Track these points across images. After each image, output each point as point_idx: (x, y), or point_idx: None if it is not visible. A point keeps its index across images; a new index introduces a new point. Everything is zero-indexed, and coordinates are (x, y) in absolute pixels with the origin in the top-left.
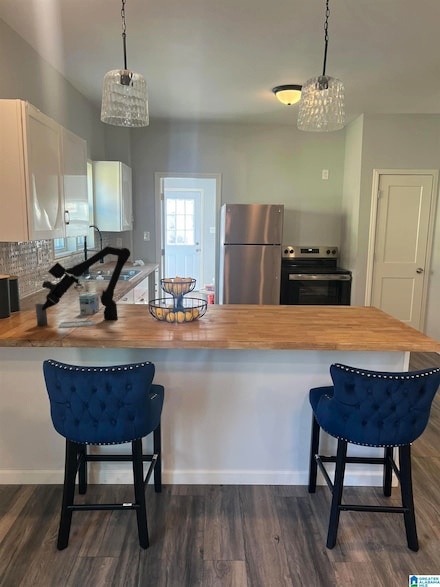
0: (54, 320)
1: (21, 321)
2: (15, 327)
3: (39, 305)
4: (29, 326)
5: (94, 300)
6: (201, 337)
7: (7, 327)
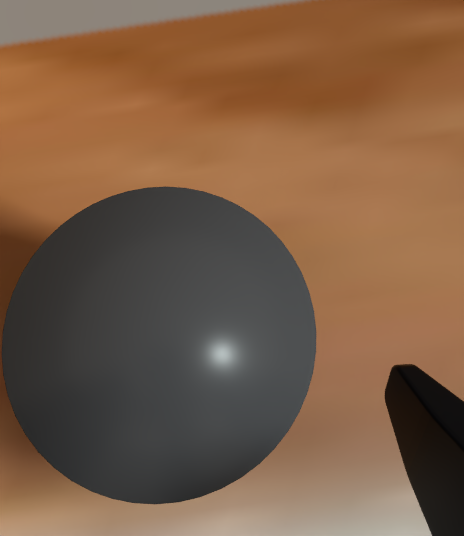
0: None
1: (451, 104)
2: (182, 93)
3: (18, 321)
4: None
5: None
6: None
7: (210, 28)
